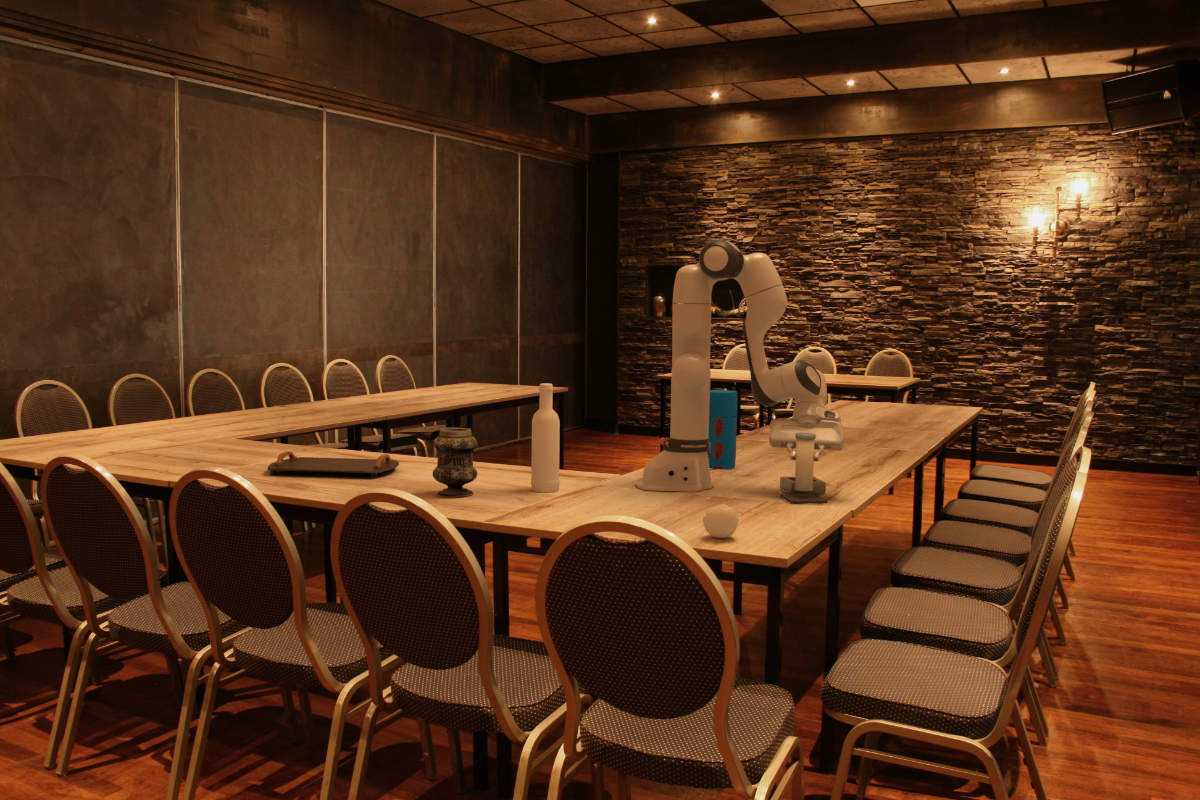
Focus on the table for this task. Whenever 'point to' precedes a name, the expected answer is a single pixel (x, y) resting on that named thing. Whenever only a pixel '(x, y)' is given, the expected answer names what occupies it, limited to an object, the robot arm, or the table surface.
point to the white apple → (721, 521)
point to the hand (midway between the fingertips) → (804, 459)
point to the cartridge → (804, 461)
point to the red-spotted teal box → (722, 429)
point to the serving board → (333, 464)
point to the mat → (803, 498)
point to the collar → (789, 487)
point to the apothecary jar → (455, 461)
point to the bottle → (545, 444)
